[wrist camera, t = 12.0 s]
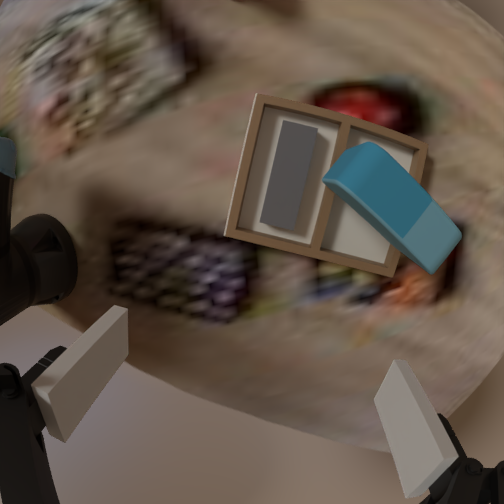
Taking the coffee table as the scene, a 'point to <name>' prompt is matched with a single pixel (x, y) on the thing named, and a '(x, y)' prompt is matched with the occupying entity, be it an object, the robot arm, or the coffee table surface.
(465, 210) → the coffee table surface
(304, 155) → the rubber bar
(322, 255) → the slot board
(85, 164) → the coffee table surface
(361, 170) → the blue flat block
